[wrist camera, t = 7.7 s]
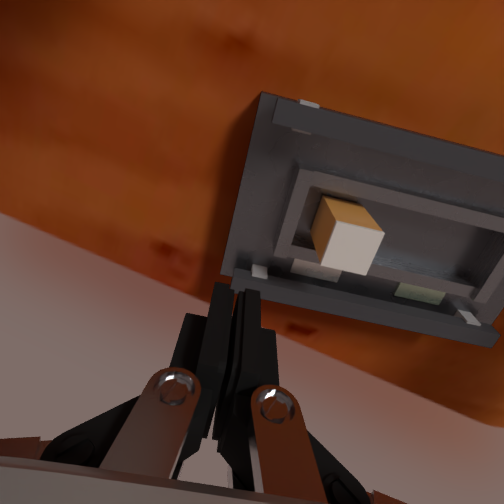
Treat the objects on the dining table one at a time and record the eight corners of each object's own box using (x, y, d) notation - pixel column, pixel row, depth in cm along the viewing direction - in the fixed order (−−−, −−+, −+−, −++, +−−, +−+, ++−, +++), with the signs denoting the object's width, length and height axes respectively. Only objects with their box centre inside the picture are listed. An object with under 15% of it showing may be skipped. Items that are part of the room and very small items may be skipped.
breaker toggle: (361, 204, 25) (384, 233, 20) (347, 240, 27) (365, 275, 22) (322, 194, 25) (337, 222, 20) (310, 231, 26) (320, 265, 22)
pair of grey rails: (581, 174, 24) (611, 183, 22) (474, 331, 30) (489, 350, 28) (277, 93, 22) (278, 94, 20) (231, 278, 29) (229, 294, 27)
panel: (559, 170, 27) (618, 188, 22) (468, 311, 33) (500, 348, 29) (261, 91, 25) (261, 93, 20) (223, 257, 31) (217, 287, 27)
